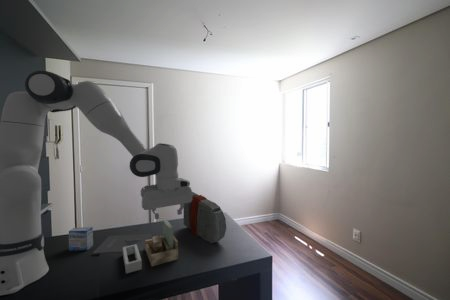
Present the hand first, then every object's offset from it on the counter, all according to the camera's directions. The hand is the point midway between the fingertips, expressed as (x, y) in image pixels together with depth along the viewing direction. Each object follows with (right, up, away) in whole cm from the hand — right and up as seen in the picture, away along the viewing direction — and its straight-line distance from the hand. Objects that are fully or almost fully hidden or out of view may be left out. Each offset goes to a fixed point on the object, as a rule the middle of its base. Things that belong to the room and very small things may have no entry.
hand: (168, 216), depth 89 cm
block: (0, -15, 0) cm, 15 cm away
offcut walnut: (-4, -13, -2) cm, 14 cm away
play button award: (-22, -16, +9) cm, 29 cm away
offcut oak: (-4, -15, -2) cm, 16 cm away
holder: (-12, -16, -6) cm, 21 cm away
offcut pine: (-4, -11, -2) cm, 12 cm away
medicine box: (-40, -16, +6) cm, 43 cm away
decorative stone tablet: (+12, -15, +17) cm, 26 cm away
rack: (-3, -16, -1) cm, 16 cm away
